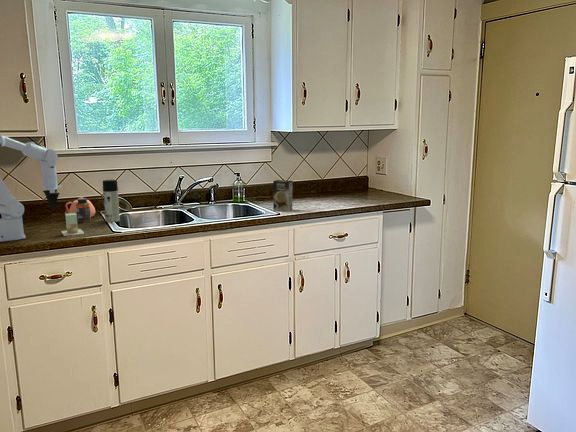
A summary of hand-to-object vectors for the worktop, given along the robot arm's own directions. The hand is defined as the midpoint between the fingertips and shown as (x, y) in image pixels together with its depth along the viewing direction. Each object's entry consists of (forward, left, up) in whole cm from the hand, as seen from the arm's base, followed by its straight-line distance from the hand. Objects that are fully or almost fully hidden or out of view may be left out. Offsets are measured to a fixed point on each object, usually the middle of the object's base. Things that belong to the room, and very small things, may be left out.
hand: (52, 207), depth 212 cm
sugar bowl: (+14, +23, -11) cm, 29 cm away
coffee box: (+111, -12, -11) cm, 112 cm away
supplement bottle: (+14, +12, -11) cm, 21 cm away
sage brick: (+6, -11, -6) cm, 14 cm away
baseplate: (+6, -11, -10) cm, 16 cm away
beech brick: (+6, -11, -10) cm, 16 cm away
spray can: (+26, +6, -11) cm, 29 cm away
